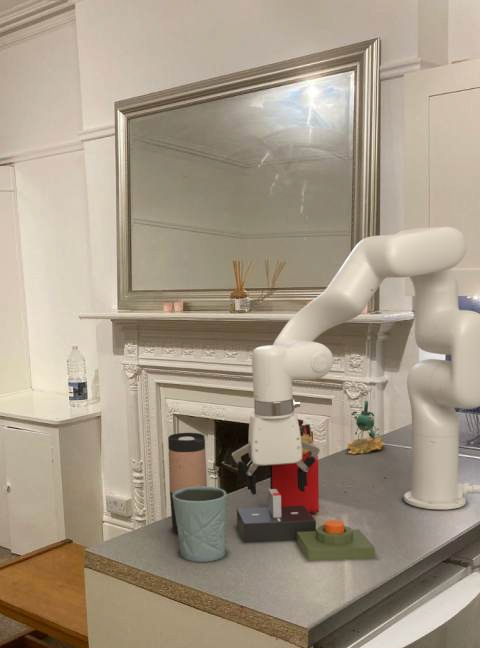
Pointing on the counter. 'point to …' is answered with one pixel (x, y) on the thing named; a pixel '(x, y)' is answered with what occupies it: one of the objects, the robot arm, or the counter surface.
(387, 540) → the counter surface
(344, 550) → the button block
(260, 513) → the plate
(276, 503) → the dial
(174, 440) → the travel mug
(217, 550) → the teal embossed cup
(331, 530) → the button
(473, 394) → the robot arm
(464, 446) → the counter surface
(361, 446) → the green character figurine
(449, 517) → the counter surface
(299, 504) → the red coffee machine
